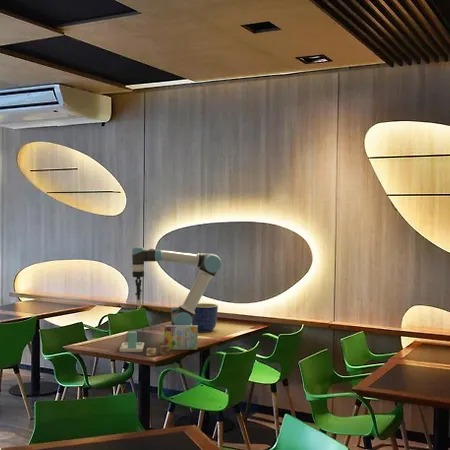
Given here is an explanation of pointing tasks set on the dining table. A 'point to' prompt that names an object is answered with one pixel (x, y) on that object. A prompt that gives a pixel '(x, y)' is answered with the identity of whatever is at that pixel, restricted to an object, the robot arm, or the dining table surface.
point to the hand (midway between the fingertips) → (138, 303)
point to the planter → (205, 316)
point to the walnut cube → (164, 350)
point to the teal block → (132, 339)
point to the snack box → (181, 337)
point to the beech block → (151, 351)
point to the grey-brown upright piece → (162, 338)
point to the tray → (138, 349)
